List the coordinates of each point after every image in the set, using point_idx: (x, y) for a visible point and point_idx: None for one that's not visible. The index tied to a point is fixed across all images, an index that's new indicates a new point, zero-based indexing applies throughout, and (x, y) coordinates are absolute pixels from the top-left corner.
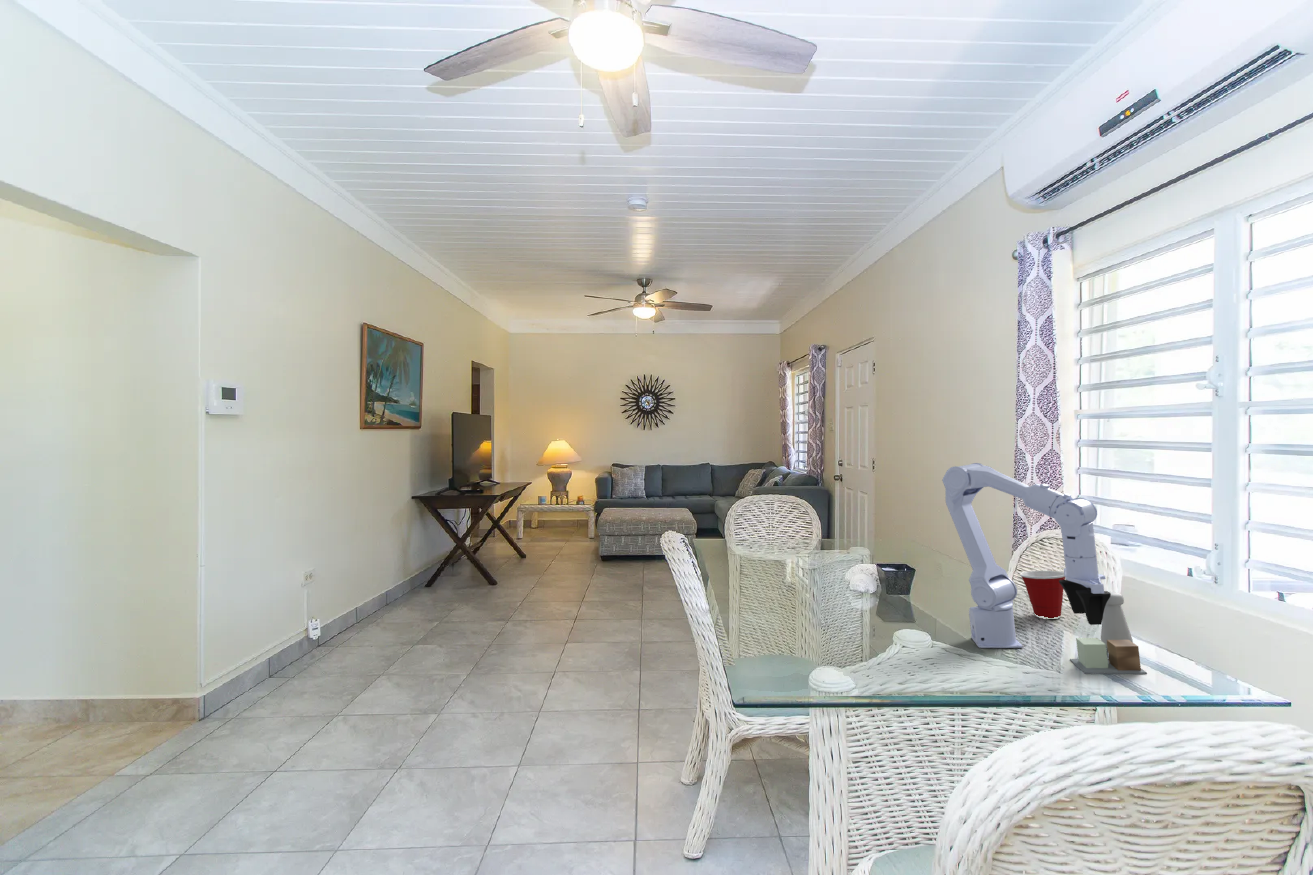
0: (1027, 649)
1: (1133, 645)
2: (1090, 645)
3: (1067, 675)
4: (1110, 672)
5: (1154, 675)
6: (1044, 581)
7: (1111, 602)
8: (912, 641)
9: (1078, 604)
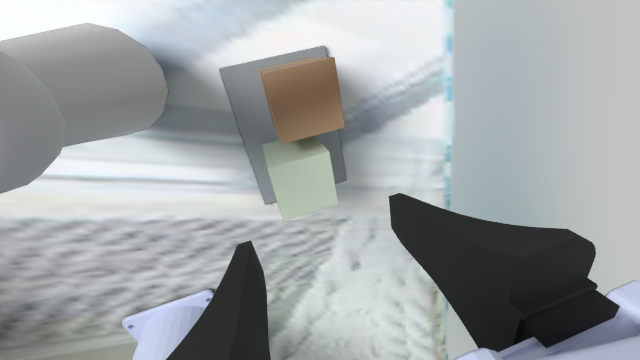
0: (213, 279)
1: (328, 71)
2: (334, 187)
3: (359, 207)
4: (338, 131)
5: (330, 28)
6: None
7: (57, 130)
8: None
9: (258, 289)
